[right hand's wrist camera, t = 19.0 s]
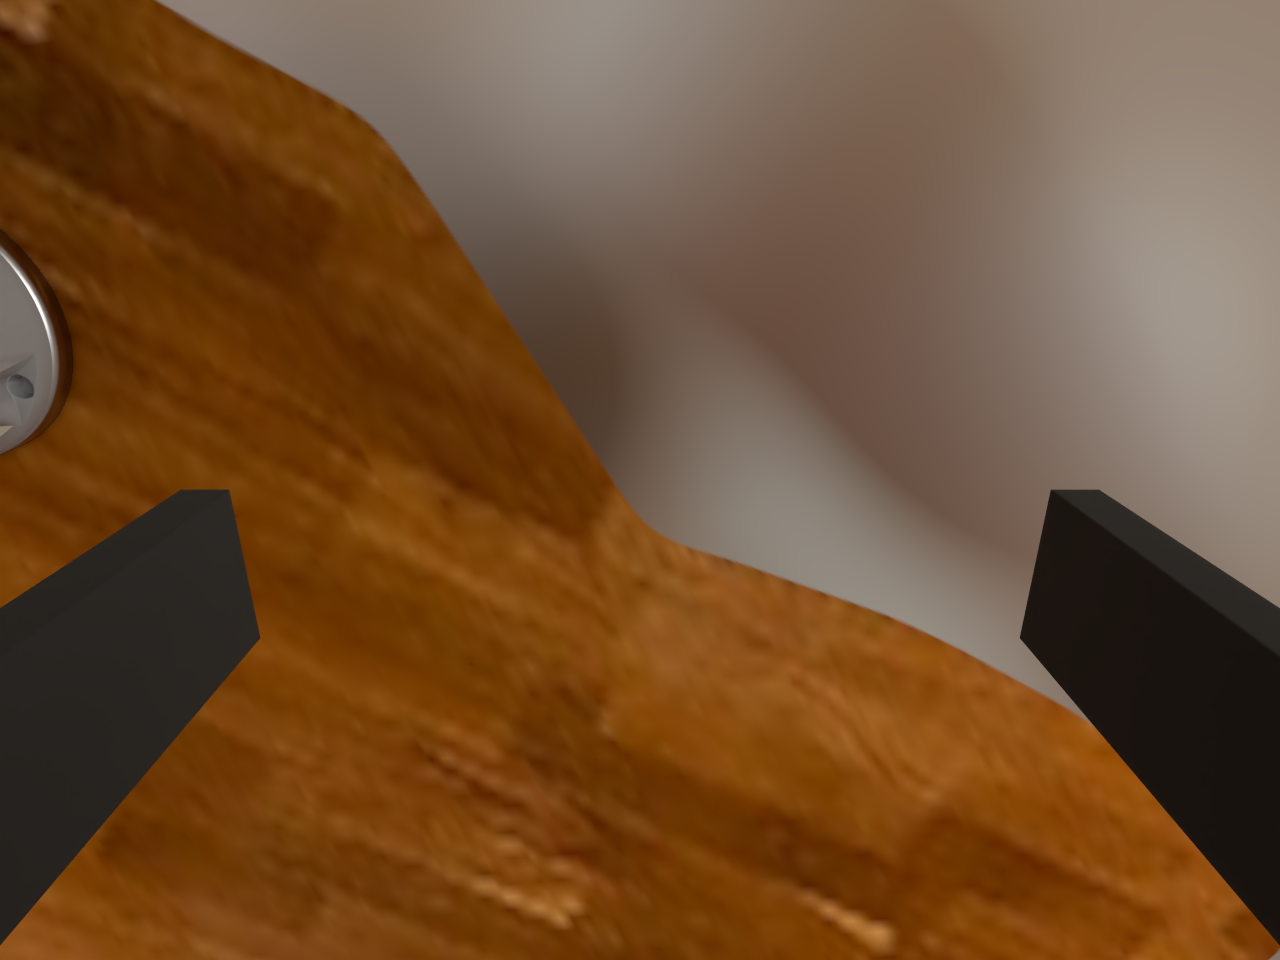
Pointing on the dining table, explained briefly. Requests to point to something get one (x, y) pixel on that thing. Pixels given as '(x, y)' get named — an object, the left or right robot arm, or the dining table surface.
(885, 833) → the dining table surface
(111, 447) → the dining table surface
